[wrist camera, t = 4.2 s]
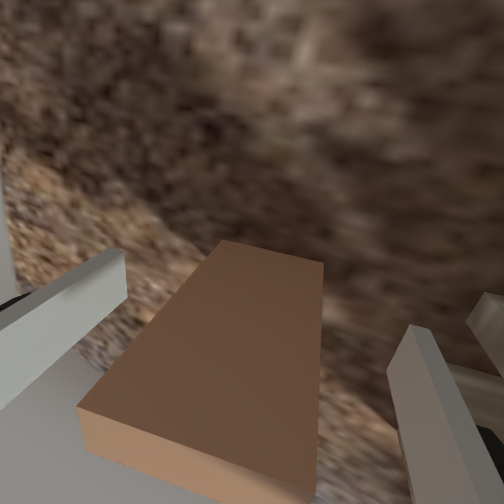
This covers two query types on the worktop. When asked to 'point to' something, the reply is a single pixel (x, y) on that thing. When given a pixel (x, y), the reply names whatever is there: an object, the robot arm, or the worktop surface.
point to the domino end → (221, 383)
